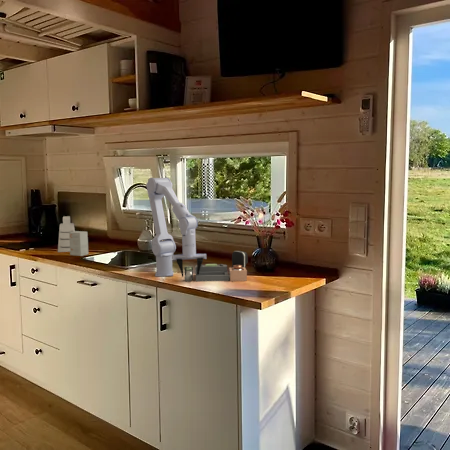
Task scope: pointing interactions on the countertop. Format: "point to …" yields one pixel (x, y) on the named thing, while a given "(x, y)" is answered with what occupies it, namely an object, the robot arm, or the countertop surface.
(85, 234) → the small box
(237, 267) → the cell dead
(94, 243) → the countertop surface
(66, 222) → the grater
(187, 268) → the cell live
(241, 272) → the cup
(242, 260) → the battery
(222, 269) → the tester
